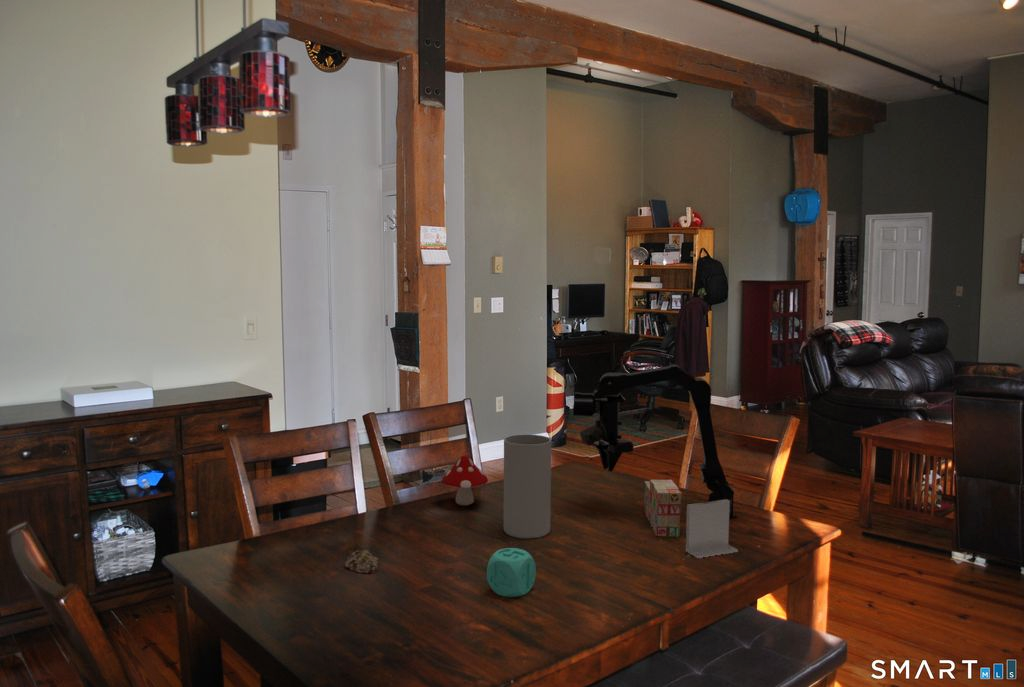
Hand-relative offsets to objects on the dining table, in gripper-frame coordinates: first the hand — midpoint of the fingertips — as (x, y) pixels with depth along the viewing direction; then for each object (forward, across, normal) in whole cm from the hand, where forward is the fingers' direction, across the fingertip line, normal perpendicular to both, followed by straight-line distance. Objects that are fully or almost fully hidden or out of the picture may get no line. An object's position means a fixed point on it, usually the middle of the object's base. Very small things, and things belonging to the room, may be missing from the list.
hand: (608, 470), depth 221 cm
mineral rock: (+12, +16, -74) cm, 77 cm away
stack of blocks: (+12, +16, +8) cm, 22 cm away
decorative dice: (+12, +41, -47) cm, 64 cm away
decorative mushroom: (+12, -20, -37) cm, 44 cm away
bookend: (+12, +38, +8) cm, 41 cm away
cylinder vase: (+12, +8, -29) cm, 32 cm away
